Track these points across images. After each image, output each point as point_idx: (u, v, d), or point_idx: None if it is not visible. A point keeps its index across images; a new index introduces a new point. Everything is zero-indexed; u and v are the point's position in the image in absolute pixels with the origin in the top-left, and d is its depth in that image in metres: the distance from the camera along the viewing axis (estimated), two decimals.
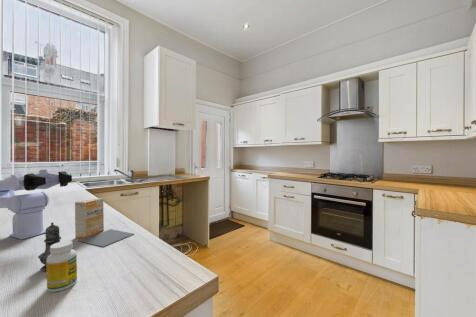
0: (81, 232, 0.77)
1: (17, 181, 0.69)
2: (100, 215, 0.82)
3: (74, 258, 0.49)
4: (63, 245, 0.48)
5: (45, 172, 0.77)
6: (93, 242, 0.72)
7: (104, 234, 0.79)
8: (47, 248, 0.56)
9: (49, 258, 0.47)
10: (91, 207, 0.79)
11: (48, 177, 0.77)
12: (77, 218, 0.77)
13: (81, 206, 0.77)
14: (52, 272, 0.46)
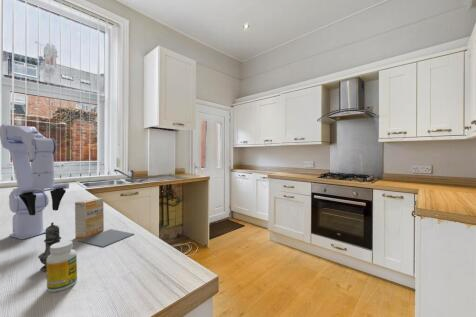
0: (81, 232, 0.77)
1: (15, 191, 0.66)
2: (100, 215, 0.82)
3: (74, 258, 0.49)
4: (63, 245, 0.48)
5: None
6: (93, 242, 0.72)
7: (104, 234, 0.79)
8: (47, 248, 0.56)
9: (49, 258, 0.47)
10: (91, 207, 0.79)
11: None
12: (77, 218, 0.77)
13: (81, 206, 0.77)
14: (52, 272, 0.46)
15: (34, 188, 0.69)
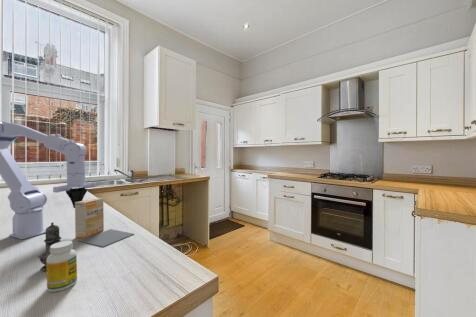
0: (81, 232, 0.77)
1: (55, 189, 0.77)
2: (100, 215, 0.82)
3: (74, 258, 0.49)
4: (63, 245, 0.48)
5: (82, 186, 0.83)
6: (93, 242, 0.72)
7: (104, 234, 0.79)
8: (47, 248, 0.56)
9: (49, 258, 0.47)
10: (91, 207, 0.79)
11: None
12: (77, 218, 0.77)
13: (81, 206, 0.77)
14: (52, 272, 0.46)
15: (70, 187, 0.80)
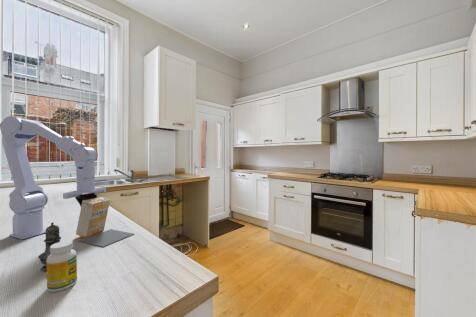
0: (82, 231, 0.76)
1: (65, 196, 0.74)
2: (104, 216, 0.82)
3: (74, 258, 0.49)
4: (63, 245, 0.48)
5: None
6: (93, 242, 0.72)
7: (104, 234, 0.79)
8: (47, 248, 0.56)
9: (49, 258, 0.47)
10: (97, 208, 0.78)
11: None
12: (81, 217, 0.76)
13: (88, 206, 0.76)
14: (52, 272, 0.46)
15: (80, 192, 0.77)
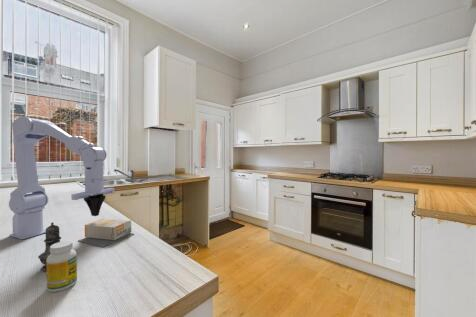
0: (89, 233, 0.76)
1: (74, 197, 0.72)
2: None
3: (74, 258, 0.49)
4: (63, 245, 0.48)
5: (100, 193, 0.78)
6: (93, 242, 0.72)
7: None
8: (47, 248, 0.56)
9: (49, 258, 0.47)
10: None
11: None
12: (100, 229, 0.74)
13: (111, 235, 0.73)
14: (52, 272, 0.46)
15: (89, 193, 0.75)
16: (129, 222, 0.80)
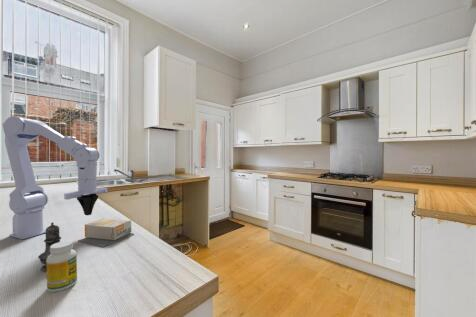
0: (89, 233, 0.76)
1: (66, 196, 0.74)
2: None
3: (74, 258, 0.49)
4: (63, 245, 0.48)
5: (93, 192, 0.80)
6: (93, 242, 0.72)
7: None
8: (47, 248, 0.56)
9: (49, 258, 0.47)
10: None
11: None
12: (100, 229, 0.74)
13: (111, 235, 0.73)
14: (52, 272, 0.46)
15: (81, 193, 0.77)
16: (129, 222, 0.80)
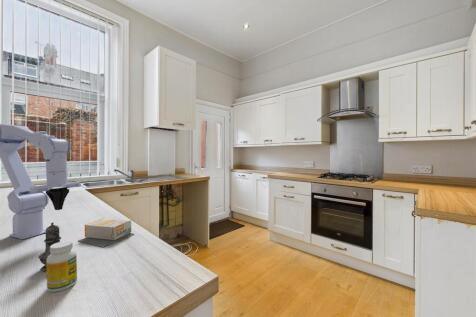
0: (89, 233, 0.76)
1: (32, 190, 0.70)
2: None
3: (74, 258, 0.49)
4: (63, 245, 0.48)
5: (63, 186, 0.76)
6: (93, 242, 0.72)
7: None
8: (47, 248, 0.56)
9: (49, 258, 0.47)
10: None
11: None
12: (100, 229, 0.74)
13: (111, 235, 0.73)
14: (52, 272, 0.46)
15: (49, 186, 0.73)
16: (129, 222, 0.80)
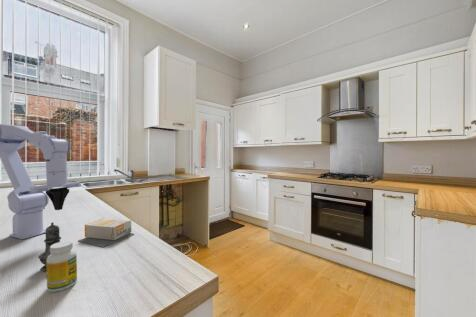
0: (89, 233, 0.76)
1: (32, 190, 0.70)
2: None
3: (74, 258, 0.49)
4: (63, 245, 0.48)
5: (63, 186, 0.76)
6: (93, 242, 0.72)
7: None
8: (47, 248, 0.56)
9: (49, 258, 0.47)
10: None
11: None
12: (100, 229, 0.74)
13: (111, 235, 0.73)
14: (52, 272, 0.46)
15: (49, 186, 0.73)
16: (129, 222, 0.80)
